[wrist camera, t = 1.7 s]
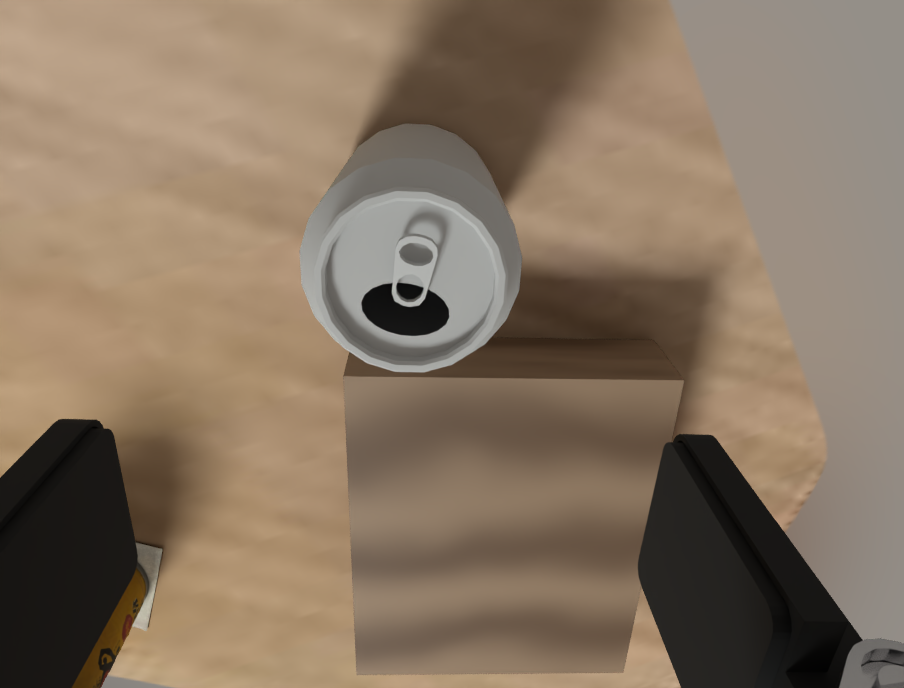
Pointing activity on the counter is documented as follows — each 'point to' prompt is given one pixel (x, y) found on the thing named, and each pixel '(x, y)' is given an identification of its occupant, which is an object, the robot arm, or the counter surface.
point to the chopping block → (504, 505)
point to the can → (411, 252)
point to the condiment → (123, 618)
